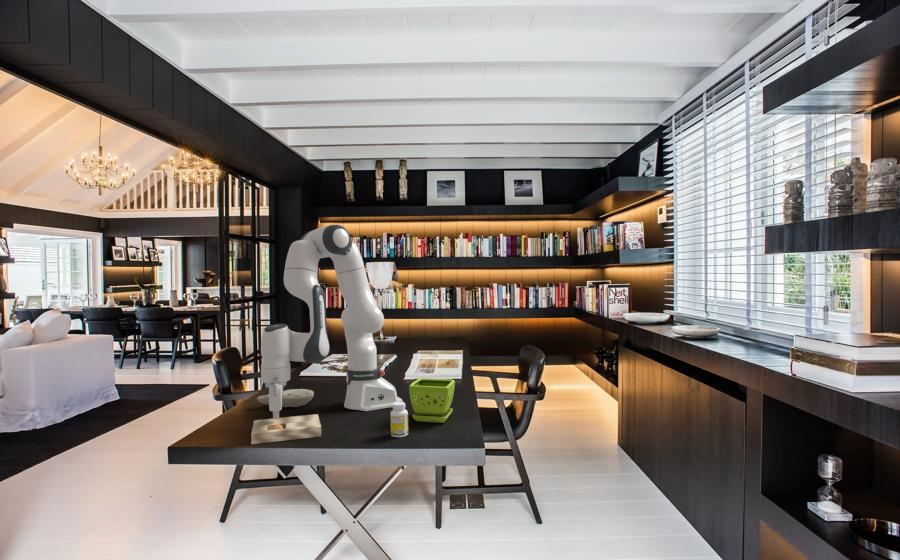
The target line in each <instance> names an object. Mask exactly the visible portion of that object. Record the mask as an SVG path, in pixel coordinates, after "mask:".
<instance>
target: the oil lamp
mask: <svg viewBox="0 0 900 560" xmlns="http://www.w3.org/2000/svg"><path fill="white" fill-rule="evenodd" d="M314 395H315V392H314V391H313V390H312V389H307V388H306V389H305V388H299V389H298V388H295V389H286V390H283V394H282V408H287V407H295V408H299V406H300V407H303V406H305V405H307V404H308V403H309V402H310V401H312V399H313V398H314ZM256 400H257V401H258V403H261V404H264V405H269V393H268V394H263V395H259V396H257V398H256ZM302 405H303V406H302Z"/></svg>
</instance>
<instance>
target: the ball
mask: <svg viewBox="0 0 900 560" xmlns="http://www.w3.org/2000/svg"><path fill="white" fill-rule="evenodd" d="M275 429H283V427H282V426H281V425H280V424H275V425H273V426H272V427H271V428H270V430H275Z"/></svg>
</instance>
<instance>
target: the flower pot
mask: <svg viewBox="0 0 900 560" xmlns="http://www.w3.org/2000/svg"><path fill="white" fill-rule="evenodd" d="M455 385H456V381H455V380H454V379H446V378H445V379H443V378H417V379H416V380H415V381H412V382H411V384H409V386H408V390H409V391H408V392H409V393H408V394H409V399H410V403H411V407H412V410H413V412H414V413H413V414H412V416H411V417H412V418H413V420H415V421H416V422H420V421H421V422H426V423H441V424H442V423H445V422H446V420H447V419H448V418H449V417H450V415H451V414H452V413H453V411H454V410H453V408H450V407H451V404H452V402H453V398H454V393H455V387H456V386H455Z"/></svg>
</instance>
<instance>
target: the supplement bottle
mask: <svg viewBox="0 0 900 560" xmlns="http://www.w3.org/2000/svg"><path fill="white" fill-rule="evenodd" d="M392 405H393V406H392V407H391V408H392V410H391V411H390V435H391V437H393V438H404V437H406V436H408V435H409V413H408V410H407V409H406V403H405V402H404V401H403V402H395V403H393V404H392Z"/></svg>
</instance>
